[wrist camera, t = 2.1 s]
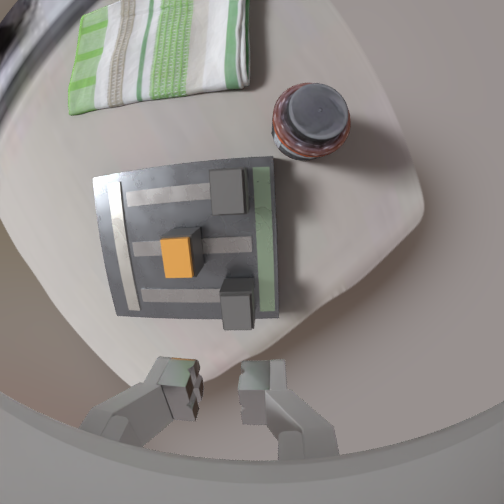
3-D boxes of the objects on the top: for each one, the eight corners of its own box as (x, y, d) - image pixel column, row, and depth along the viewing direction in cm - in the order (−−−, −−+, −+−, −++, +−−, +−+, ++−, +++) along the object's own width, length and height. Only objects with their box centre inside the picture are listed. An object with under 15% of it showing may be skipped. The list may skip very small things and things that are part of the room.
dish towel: (251, 93, 26) (248, 83, 22) (74, 120, 27) (57, 118, 24) (250, -18, 21) (248, -33, 18) (90, 17, 22) (77, 9, 19)
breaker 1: (215, 169, 26) (207, 169, 22) (247, 167, 25) (243, 166, 22) (218, 210, 27) (210, 217, 23) (249, 209, 26) (246, 215, 23)
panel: (102, 177, 29) (91, 178, 26) (272, 157, 27) (273, 156, 25) (123, 308, 33) (116, 316, 31) (278, 309, 32) (278, 318, 30)
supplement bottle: (292, 96, 25) (306, 53, 14) (339, 128, 26) (379, 105, 15) (260, 139, 27) (255, 118, 16) (307, 172, 27) (333, 172, 17)
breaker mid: (172, 228, 27) (157, 237, 24) (200, 227, 27) (189, 235, 23) (176, 266, 29) (164, 280, 25) (204, 265, 28) (194, 279, 24)
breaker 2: (224, 278, 29) (218, 294, 25) (253, 277, 28) (251, 293, 25) (227, 312, 30) (222, 331, 26) (255, 312, 29) (253, 331, 26)
